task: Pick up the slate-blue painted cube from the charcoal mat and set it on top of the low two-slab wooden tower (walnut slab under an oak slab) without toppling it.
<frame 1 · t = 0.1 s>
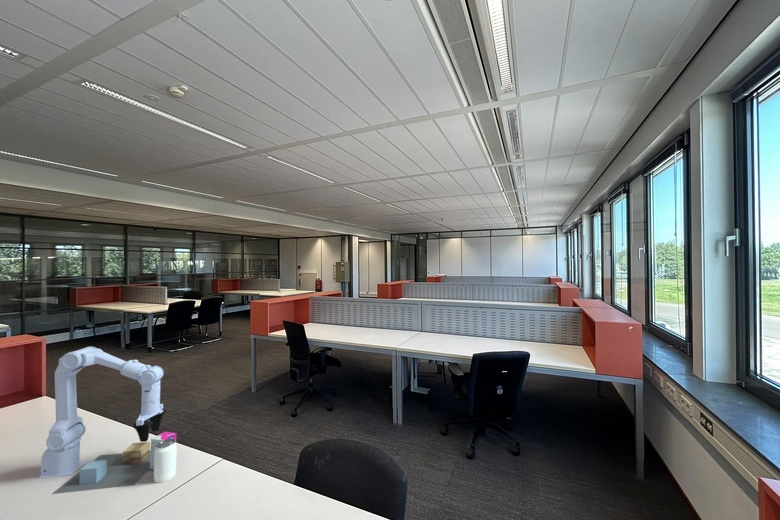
hand: (149, 435, 121), 10 cm above the table, fingers open, 7 cm apart
mat: (115, 469, 116), on the table
supplement box: (162, 467, 118), on the table
cube: (93, 479, 111), resting on mat
slab lower: (136, 459, 122), resting on mat, touching slab upper
slab upper: (136, 453, 122), point 3 cm above the table, touching slab lower
can: (165, 478, 112), on the table
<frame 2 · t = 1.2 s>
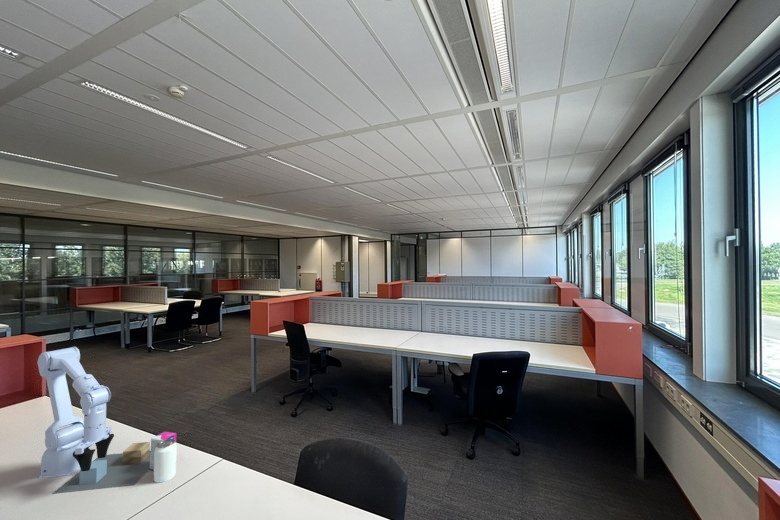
hand: (93, 463, 111), 6 cm above the table, fingers open, 7 cm apart
nothing on the table moved.
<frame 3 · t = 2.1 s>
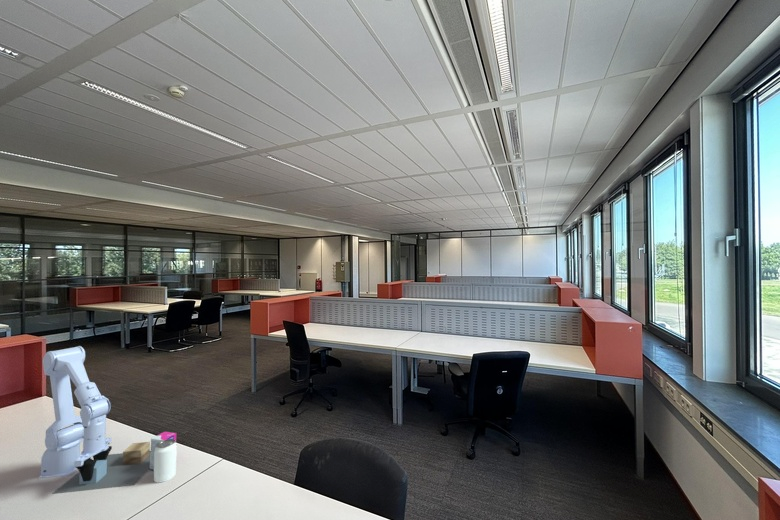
hand: (93, 475, 111), 2 cm above the table, fingers closed on cube, 5 cm apart
cube: (93, 479, 111), resting on mat, touching gripper
everything else where it was.
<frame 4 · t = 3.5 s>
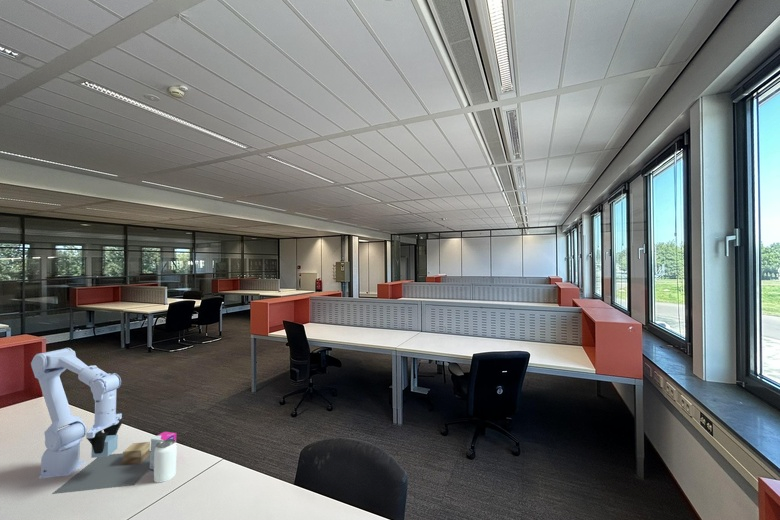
hand: (104, 448, 113), 9 cm above the table, fingers closed on cube, 5 cm apart
cube: (104, 453, 113), point 8 cm above the table, touching gripper
everything else where it was.
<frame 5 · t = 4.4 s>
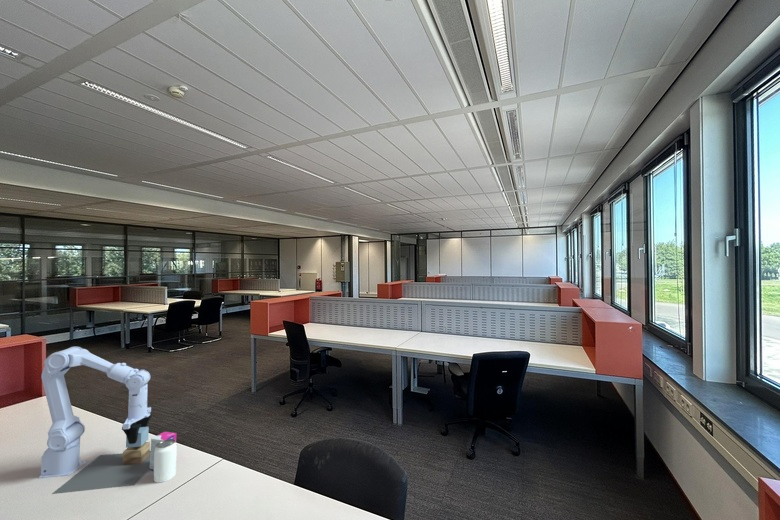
hand: (137, 439, 122), 8 cm above the table, fingers closed on cube, 5 cm apart
cube: (137, 443, 122), point 6 cm above the table, touching gripper
everything else where it was.
when the fingers open (7 cm above the table, at t = 5.0 s): cube stays where it is, resting on slab upper.
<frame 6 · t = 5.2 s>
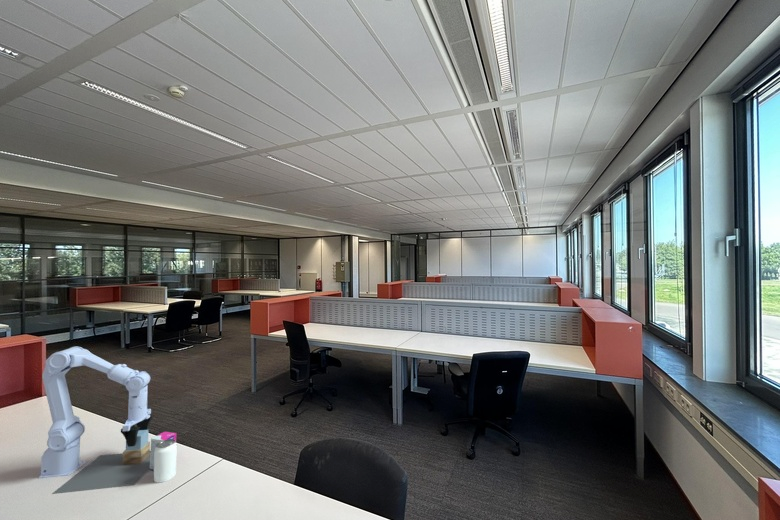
hand: (136, 441, 122), 7 cm above the table, fingers open, 6 cm apart
cube: (137, 446, 122), point 5 cm above the table, touching slab upper
slab upper: (136, 453, 122), point 3 cm above the table, touching cube, slab lower
everything else where it was.
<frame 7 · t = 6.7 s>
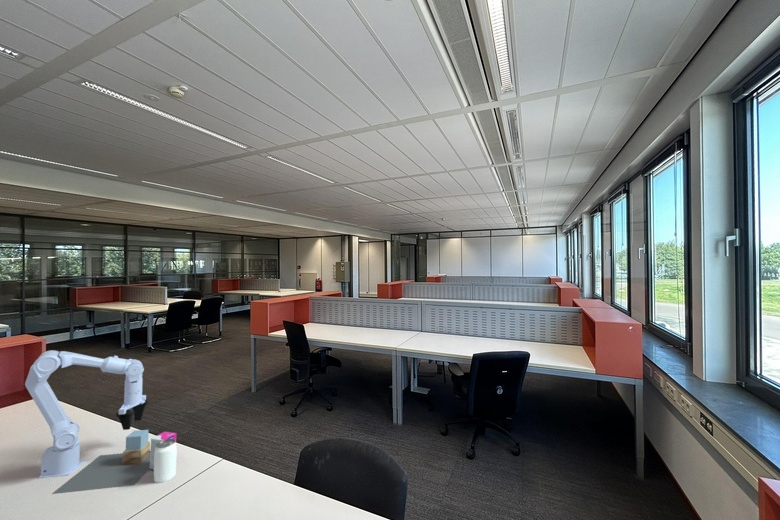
hand: (132, 424, 129), 10 cm above the table, fingers open, 7 cm apart
nothing on the table moved.
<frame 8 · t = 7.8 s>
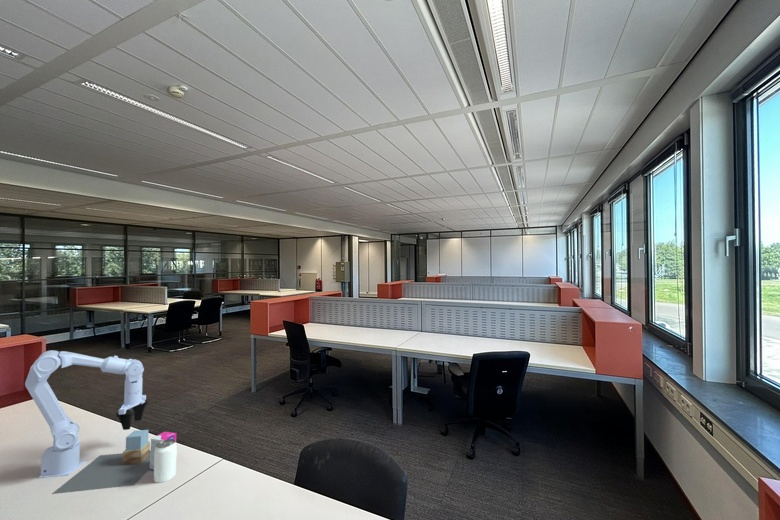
hand: (132, 424, 129), 10 cm above the table, fingers open, 7 cm apart
nothing on the table moved.
at the end: cube 0.1 cm off-centre on the slab lower, point 5.0 cm above the slab lower's base; cube tilted 0°; slab upper moved 0.0 cm from its start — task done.
